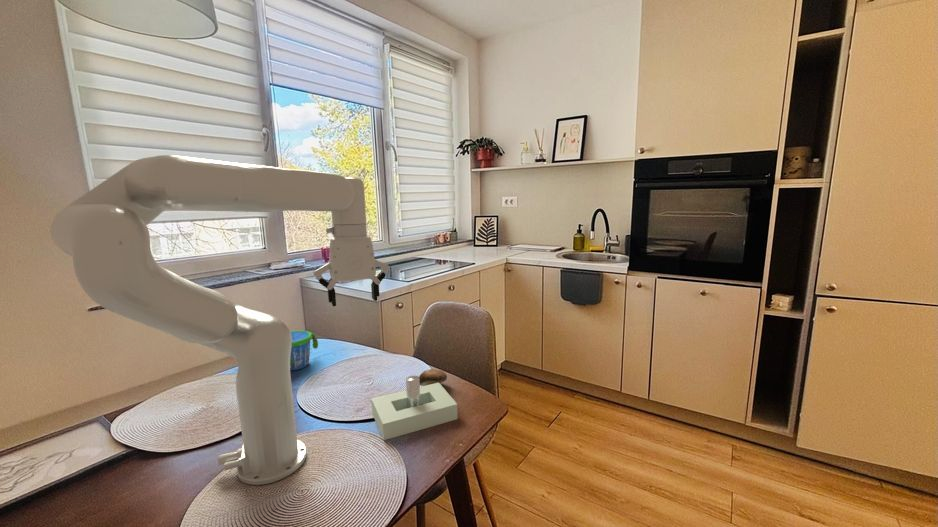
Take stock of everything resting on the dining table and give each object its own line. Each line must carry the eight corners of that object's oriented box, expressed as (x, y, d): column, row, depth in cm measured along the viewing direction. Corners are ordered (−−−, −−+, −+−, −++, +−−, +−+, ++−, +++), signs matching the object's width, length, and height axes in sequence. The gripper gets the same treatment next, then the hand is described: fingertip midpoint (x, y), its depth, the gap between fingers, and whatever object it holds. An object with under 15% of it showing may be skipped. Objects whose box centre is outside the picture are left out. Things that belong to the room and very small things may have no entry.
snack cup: (279, 380, 113) (276, 347, 111) (263, 370, 120) (260, 339, 118) (327, 362, 125) (325, 332, 123) (310, 354, 132) (308, 325, 130)
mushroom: (441, 388, 101) (436, 364, 104) (415, 396, 103) (411, 372, 106) (453, 389, 108) (448, 367, 111) (428, 396, 110) (424, 374, 113)
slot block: (383, 440, 85) (382, 424, 84) (372, 413, 96) (371, 398, 95) (457, 419, 93) (457, 404, 92) (439, 396, 103) (438, 382, 103)
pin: (409, 421, 92) (408, 383, 90) (405, 414, 95) (404, 377, 93) (422, 418, 93) (421, 380, 92) (418, 411, 96) (416, 374, 94)
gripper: (311, 235, 82) (317, 311, 85) (390, 231, 90) (394, 301, 93) (309, 232, 89) (315, 303, 92) (383, 228, 96) (386, 294, 99)
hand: (354, 302), depth 92 cm, fingers open, 9 cm apart
